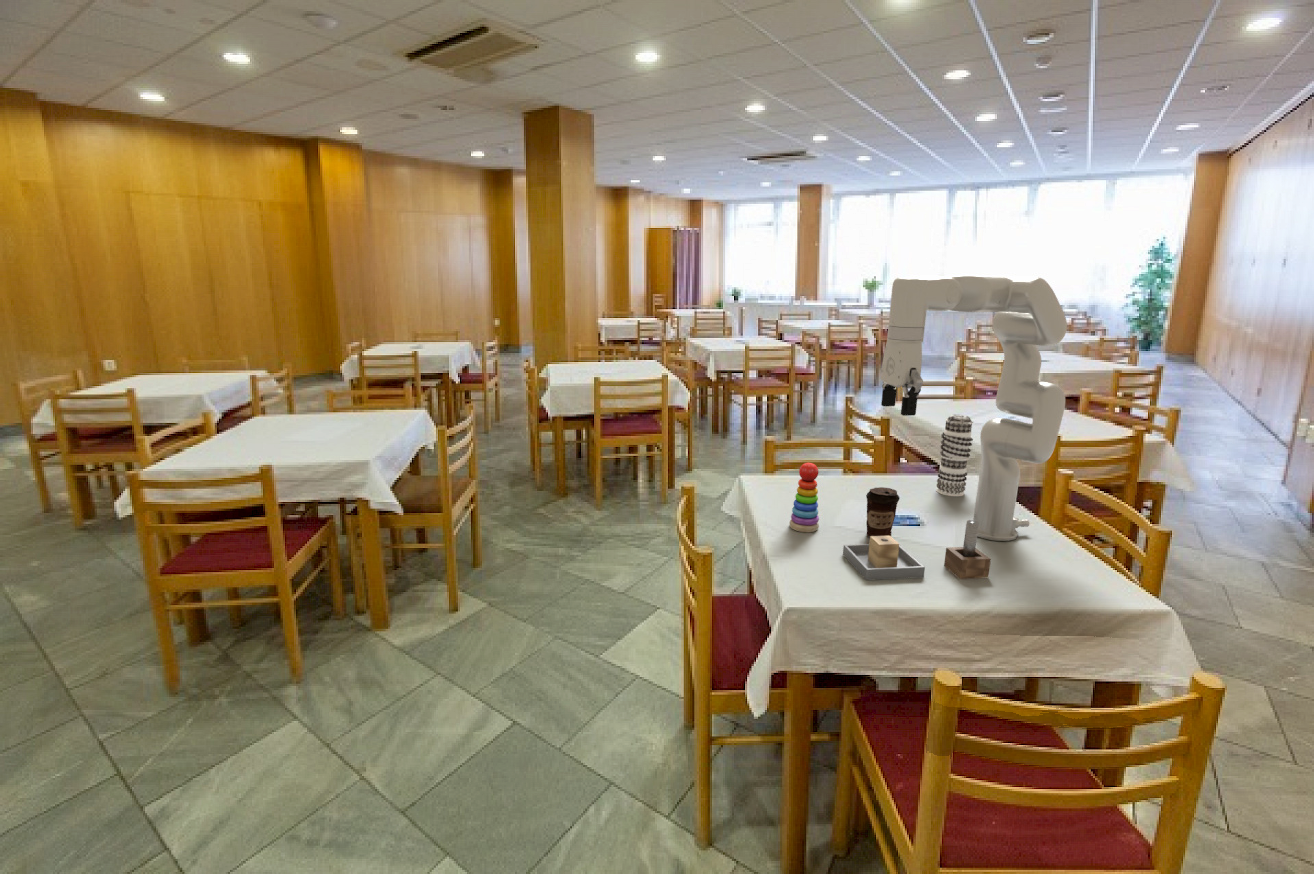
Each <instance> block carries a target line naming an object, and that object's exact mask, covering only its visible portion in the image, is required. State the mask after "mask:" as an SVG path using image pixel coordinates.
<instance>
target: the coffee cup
mask: <svg viewBox="0 0 1314 874" xmlns="http://www.w3.org/2000/svg"><path fill="white" fill-rule="evenodd" d="M865 495H866V497H865V498H866V524H865V525H866V536H867V537H868V538H869V539H870V536H891V537H892V533H893V532H892V529H893V525H894V522H895V518H896V512H897V507H898V503H899V501H900V496H899V495H898V491H897V490H896V489H893V488H889V487H873V488H870V489H869V491H868V492H867V493H866V494H865Z"/></svg>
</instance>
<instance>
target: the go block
mask: <svg viewBox="0 0 1314 874" xmlns="http://www.w3.org/2000/svg"><path fill="white" fill-rule="evenodd" d="M962 553H963V546H953V547H951V546H950V547H948V546H947V547H946V548H945V556H944V563H943V566H944V567H945V568H946V569H947V570H949V571H950V572H951V573H952V574H954V575H955V577H957V578H958V579H959V580H963V579H964V580H967V579H968V580H969V579H970V580H971V579H983V578H982V577H988V578H989V575H990V568H991V560H992V559H991V558H990V557H989V556H987V555H986V554H985V553H984V552H982V551H981V550H980V549H978V548H977V547H976V548H975V555H974V557H963V556H962Z"/></svg>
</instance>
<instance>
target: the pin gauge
mask: <svg viewBox="0 0 1314 874" xmlns="http://www.w3.org/2000/svg"><path fill="white" fill-rule="evenodd" d="M978 527H979V522H977V521H974V520H973V519H968V520H966V523H965V532H964V533H965V534H964V537H963V538H964V539H963V540H964V541H963V545H962V547H963V553H962V556H963V557H974V555H975V548H977V539H978V536H977V534H978Z"/></svg>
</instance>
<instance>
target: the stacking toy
mask: <svg viewBox="0 0 1314 874" xmlns="http://www.w3.org/2000/svg"><path fill="white" fill-rule="evenodd" d="M798 472H799V473H798V474H799V476H800V479H799V480H798V483H797V484H798V486H797V489H796V491H797V493H796V494H795V496H794V497H795V498H794V499H795V500H794V501H793V507H792V509H791V511H792V513H791V515H790V518H791V519H790V520H789V527H790V528H791V529H792V530H795V532H796V531H797V532H801V533H812V532H815V531H817V530H818V529H819V527H820V525H819V520H820V517H819V510H818V508H819V504H818V500H819V497H818V492H819V491H818V488H817V487H818V483H817V482H818V481H817V480H816V479H817V478H818V475H819V468H818V467H817V465H816V464H815V463H812V462H805V463H803V464H802V465H801V466H800V467H799V471H798Z"/></svg>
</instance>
